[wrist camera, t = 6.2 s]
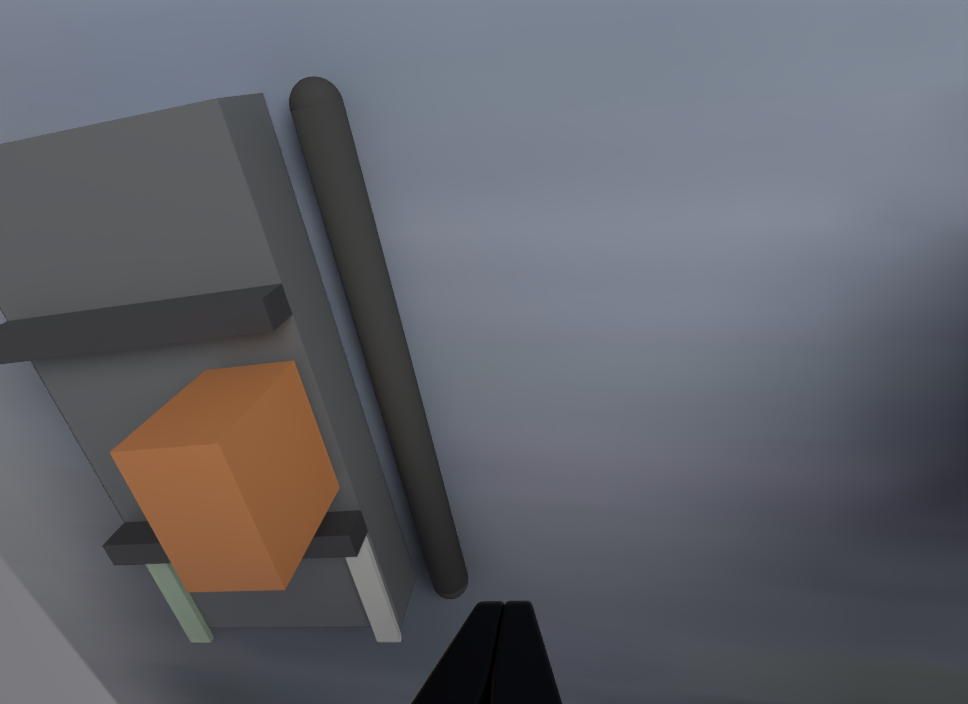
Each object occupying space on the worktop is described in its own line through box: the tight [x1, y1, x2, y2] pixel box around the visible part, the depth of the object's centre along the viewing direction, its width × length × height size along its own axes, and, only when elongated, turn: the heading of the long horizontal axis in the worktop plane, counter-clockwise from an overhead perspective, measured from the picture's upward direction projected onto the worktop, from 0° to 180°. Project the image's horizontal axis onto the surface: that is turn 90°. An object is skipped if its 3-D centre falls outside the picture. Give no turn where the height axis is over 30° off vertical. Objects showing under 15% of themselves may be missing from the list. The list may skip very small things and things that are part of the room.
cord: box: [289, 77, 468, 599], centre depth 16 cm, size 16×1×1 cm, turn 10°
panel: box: [0, 93, 416, 643], centre depth 17 cm, size 16×8×3 cm, turn 10°
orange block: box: [110, 360, 340, 592], centre depth 14 cm, size 4×2×4 cm, turn 10°
